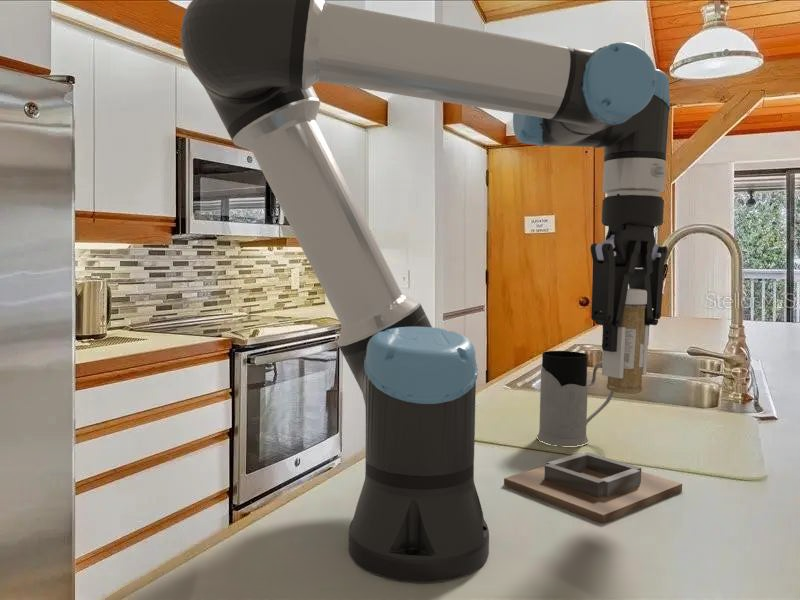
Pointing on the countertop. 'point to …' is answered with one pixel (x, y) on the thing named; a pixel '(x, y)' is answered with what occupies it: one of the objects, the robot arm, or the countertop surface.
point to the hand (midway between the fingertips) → (624, 374)
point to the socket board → (593, 486)
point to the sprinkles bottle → (632, 344)
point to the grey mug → (565, 398)
